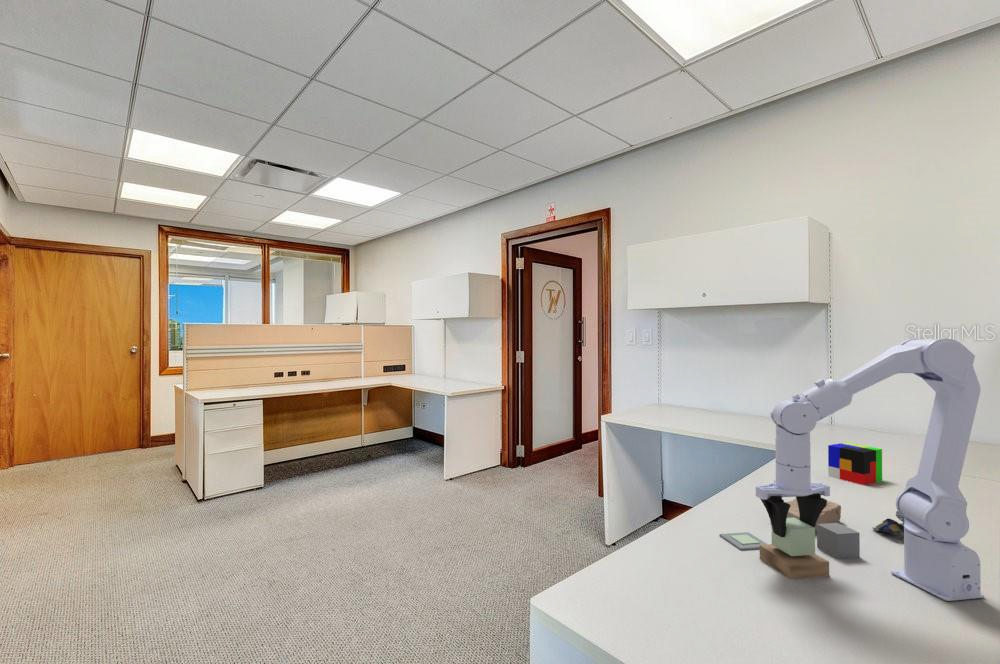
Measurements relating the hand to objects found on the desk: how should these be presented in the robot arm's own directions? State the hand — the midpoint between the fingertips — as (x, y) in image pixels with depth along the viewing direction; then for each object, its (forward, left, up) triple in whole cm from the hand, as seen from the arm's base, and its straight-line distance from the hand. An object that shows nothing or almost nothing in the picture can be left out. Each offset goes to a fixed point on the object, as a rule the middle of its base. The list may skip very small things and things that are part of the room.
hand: (792, 534), depth 88 cm
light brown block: (0, 0, -7) cm, 7 cm away
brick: (+18, -20, -7) cm, 28 cm away
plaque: (+11, +2, -6) cm, 13 cm away
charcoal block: (+4, -14, -6) cm, 16 cm away
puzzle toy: (+47, -64, -6) cm, 80 cm away
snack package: (+8, -37, -7) cm, 39 cm away
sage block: (0, 0, -3) cm, 3 cm away
